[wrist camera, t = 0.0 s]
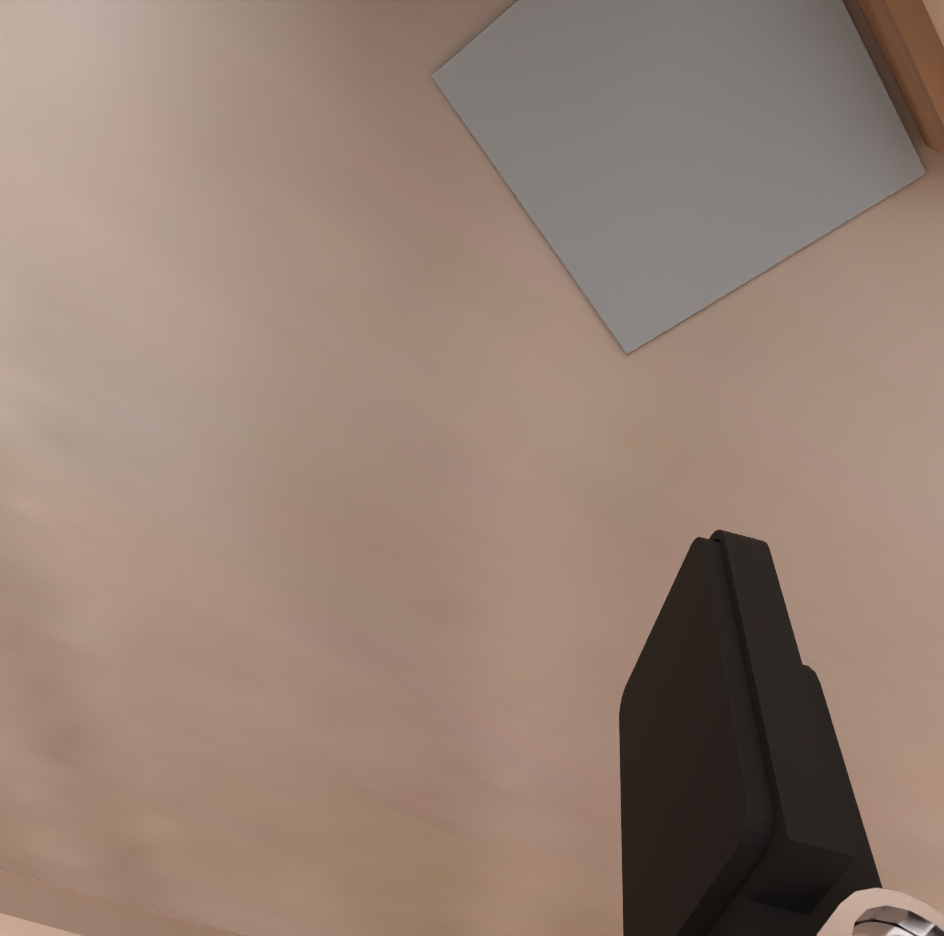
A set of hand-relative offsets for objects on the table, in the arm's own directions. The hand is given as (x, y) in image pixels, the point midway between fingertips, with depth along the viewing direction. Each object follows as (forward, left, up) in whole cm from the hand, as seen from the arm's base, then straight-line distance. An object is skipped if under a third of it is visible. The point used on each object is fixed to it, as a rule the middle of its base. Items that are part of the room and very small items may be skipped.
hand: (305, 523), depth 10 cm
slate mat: (-5, +4, -31) cm, 32 cm away
